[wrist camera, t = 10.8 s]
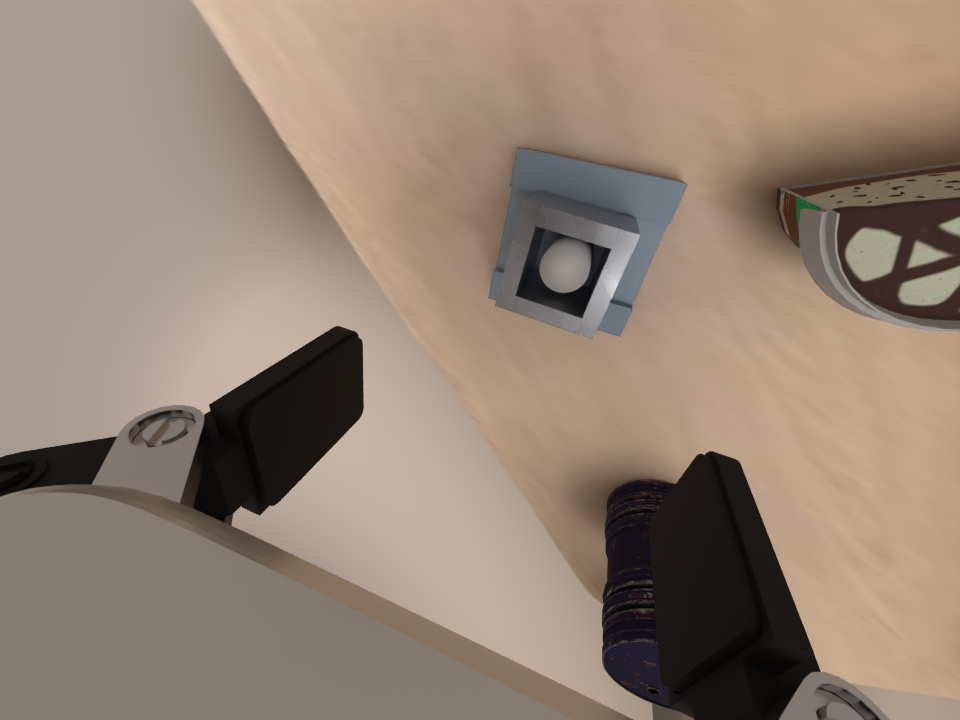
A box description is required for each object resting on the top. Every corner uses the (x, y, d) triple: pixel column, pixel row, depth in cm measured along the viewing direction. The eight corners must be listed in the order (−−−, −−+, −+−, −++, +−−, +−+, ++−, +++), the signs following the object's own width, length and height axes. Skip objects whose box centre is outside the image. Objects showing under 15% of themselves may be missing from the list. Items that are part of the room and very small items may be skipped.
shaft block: (620, 324, 30) (620, 370, 24) (496, 289, 32) (467, 322, 26) (682, 181, 24) (703, 192, 18) (524, 148, 26) (496, 148, 20)
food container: (736, 284, 26) (790, 346, 18) (749, 192, 23) (820, 215, 15) (980, 267, 22) (1202, 340, 13) (1033, 150, 19) (1352, 152, 11)
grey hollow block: (597, 305, 28) (592, 339, 23) (516, 278, 29) (495, 305, 24) (635, 217, 24) (640, 234, 19) (541, 190, 25) (522, 200, 20)
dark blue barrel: (626, 465, 37) (631, 622, 25) (727, 502, 35) (786, 690, 23) (593, 520, 42) (582, 671, 30) (678, 555, 41) (704, 729, 28)
